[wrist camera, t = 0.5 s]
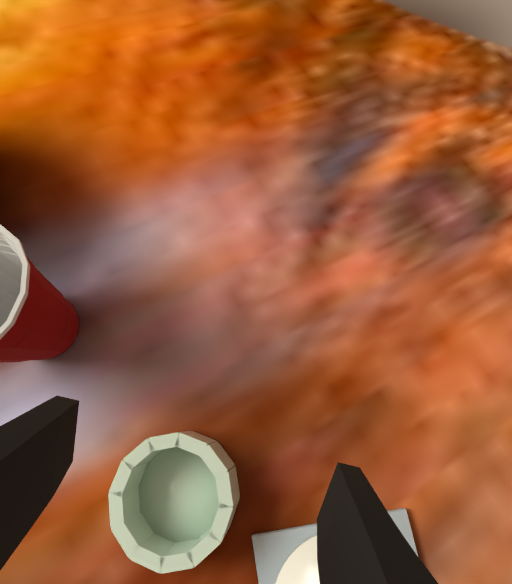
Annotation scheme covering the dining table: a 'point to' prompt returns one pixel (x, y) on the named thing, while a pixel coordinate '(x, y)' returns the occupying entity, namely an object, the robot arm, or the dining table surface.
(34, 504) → the robot arm
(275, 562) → the mat
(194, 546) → the bowl
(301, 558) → the lid
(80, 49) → the dining table surface
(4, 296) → the plastic cup
